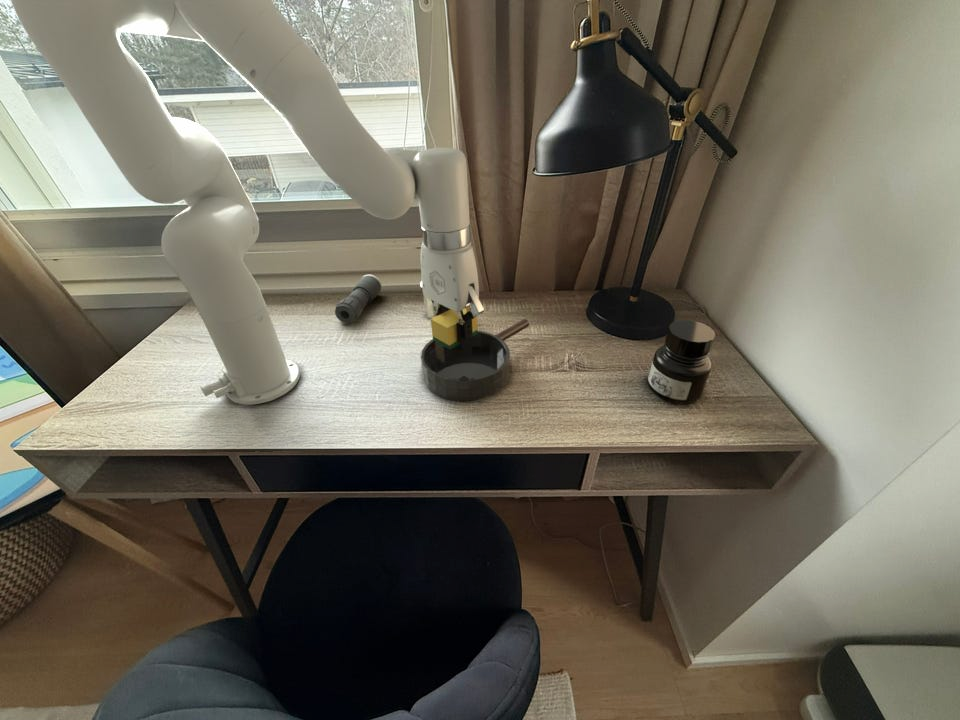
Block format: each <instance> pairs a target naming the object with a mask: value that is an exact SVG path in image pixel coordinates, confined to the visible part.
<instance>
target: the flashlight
mask: <svg viewBox="0 0 960 720" xmlns="http://www.w3.org/2000/svg"><path fill="white" fill-rule="evenodd" d="M382 288H383V286H382V283H381V280H380V279H379V278H378V277H377V276H375V275H374V274H365V275H363V276H362V277H361V278H360V279H359V280H358V281H357V283H356V284H355V286H354V287H353V288H352V290H351V293H349V295H347V296H346V297H345V298H343V299H341V300H340V301H339V302H338V303H337V304H336V306H335V310H334V315H335V317H336V318H337V319H338V321H340V322H342V323H343V324H347V325H349V324H352V323H355V322H356V321H357V320H358V319H359V317H360V316H361V314H362V311H363V310H364V308H365V307H366V305H368V304H370V303H371V302H372V301H373V300H374V299H376V297H377V296H378V295H379V294H380V292H381V291H382Z"/></svg>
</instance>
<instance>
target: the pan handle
mask: <svg viewBox="0 0 960 720" xmlns="http://www.w3.org/2000/svg"><path fill="white" fill-rule="evenodd" d="M529 326H530V321H529V320H528V319H526V318H523V319H521V320H519V321H518V322H516V323H514V324H513V325H511V326H509V327H508V328H506V329H504V330H502V331H500V332H499V333H497V334H494V335H495V336H497V337H499V338H500V339H502V340H503V341H504V342H505V341H506V340H508V339H510V338H511V337H513V336H515V335H516V334H518V333H520V332H522V331H524V330H525V329H528V327H529Z"/></svg>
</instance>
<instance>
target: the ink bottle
mask: <svg viewBox="0 0 960 720" xmlns="http://www.w3.org/2000/svg"><path fill="white" fill-rule="evenodd" d="M715 338H716V333H715V331H714V330H713V329H712V328H711V327H710V326H708V325H706V324H705V323H702V322H699V321H696V320H689V319H681V320H679V319H678V320H675V321H672V322H671V323H670V324H669V325H668V329H667V333H666V336H665V339H664V340H665V342H664V345H662V346H660V347H659V348H657V349H656V351H655V352H654V355H653V357H652V362H651V366H650V368H649V373H648V377H647V386H648V388H649V390H650V391H651V392H652V393H653V394H654V395H655V396H657V397H658V398H660V399H662V400H664V401H666V402H669V403H672V404H684V405H685V404H690V403H693V402H696V401H698V400H700V398H701V397H702V395H703V392H704V389H705V387H706V384H707V381H708V379H709V376H710V374H711V371H712V366H713V364H712V360H711V358H710V356H709V355H710V352H711V349H712V347H713V344H714V341H715Z"/></svg>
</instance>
